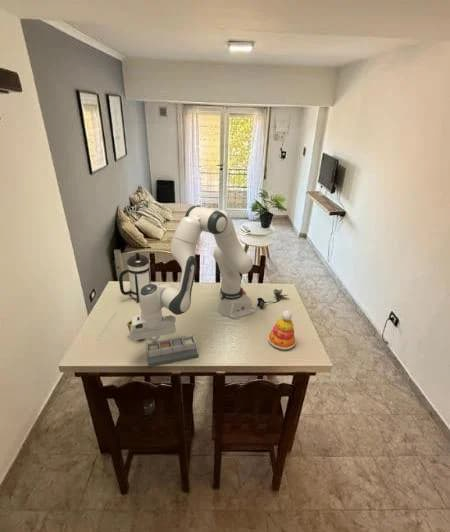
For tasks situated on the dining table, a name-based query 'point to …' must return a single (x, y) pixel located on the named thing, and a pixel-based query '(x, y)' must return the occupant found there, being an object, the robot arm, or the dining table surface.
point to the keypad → (172, 351)
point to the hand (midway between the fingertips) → (154, 342)
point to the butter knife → (101, 334)
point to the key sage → (153, 347)
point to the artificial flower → (262, 302)
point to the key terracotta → (165, 345)
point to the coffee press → (136, 275)
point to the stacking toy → (283, 332)
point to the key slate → (176, 342)
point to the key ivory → (188, 341)
